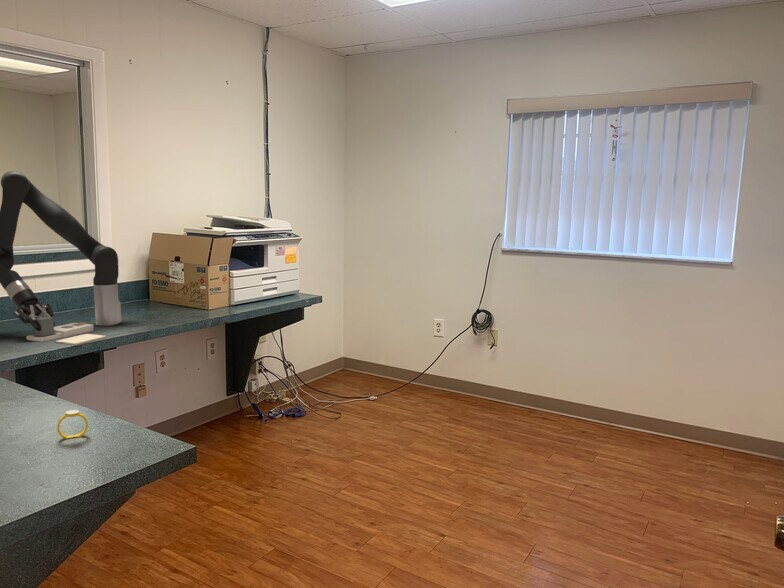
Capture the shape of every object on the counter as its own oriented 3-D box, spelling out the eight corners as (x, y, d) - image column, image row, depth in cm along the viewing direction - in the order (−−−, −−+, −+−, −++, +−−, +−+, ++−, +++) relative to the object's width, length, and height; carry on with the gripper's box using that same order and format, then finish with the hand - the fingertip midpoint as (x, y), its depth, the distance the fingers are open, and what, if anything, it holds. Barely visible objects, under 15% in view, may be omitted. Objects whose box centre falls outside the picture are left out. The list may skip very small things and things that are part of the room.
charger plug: (46, 336, 230) (45, 316, 229) (54, 337, 229) (52, 317, 228) (34, 339, 226) (33, 318, 224) (42, 340, 224) (41, 319, 223)
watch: (87, 434, 136) (88, 408, 135) (87, 438, 133) (88, 412, 133) (57, 436, 133) (57, 411, 132) (57, 441, 131) (57, 414, 130)
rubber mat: (86, 335, 234) (86, 333, 234) (106, 337, 231) (106, 335, 231) (55, 342, 221) (55, 340, 221) (75, 345, 218) (75, 343, 218)
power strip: (75, 328, 246) (74, 321, 245) (93, 330, 242) (93, 323, 242) (25, 339, 225) (24, 331, 225) (44, 342, 222) (43, 334, 221)
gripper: (8, 290, 221) (33, 325, 218) (42, 286, 234) (67, 318, 231) (-1, 303, 223) (24, 338, 221) (34, 298, 237) (58, 331, 234)
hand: (46, 328), depth 226 cm, fingers closed on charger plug, 5 cm apart
